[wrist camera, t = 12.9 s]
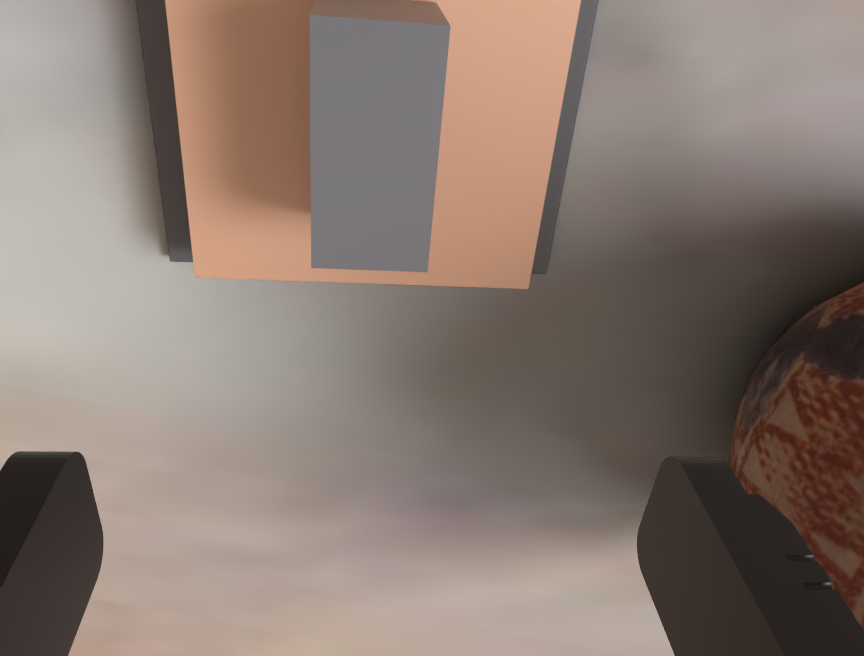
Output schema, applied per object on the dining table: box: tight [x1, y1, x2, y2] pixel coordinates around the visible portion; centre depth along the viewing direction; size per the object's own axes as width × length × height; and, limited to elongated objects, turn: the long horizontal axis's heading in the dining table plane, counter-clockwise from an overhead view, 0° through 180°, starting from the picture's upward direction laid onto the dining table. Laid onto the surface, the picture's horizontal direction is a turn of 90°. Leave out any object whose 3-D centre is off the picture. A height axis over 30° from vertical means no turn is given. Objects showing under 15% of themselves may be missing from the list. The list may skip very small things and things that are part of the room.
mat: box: [136, 0, 599, 274], centre depth 28 cm, size 17×15×1 cm
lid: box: [165, 0, 581, 289], centre depth 25 cm, size 14×14×7 cm
